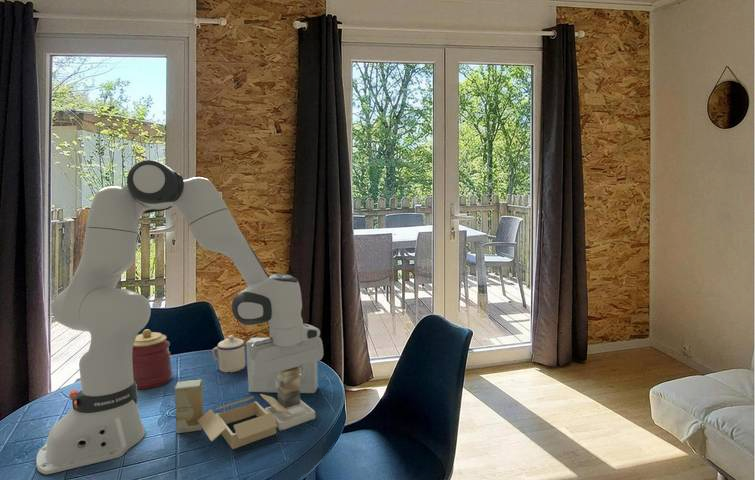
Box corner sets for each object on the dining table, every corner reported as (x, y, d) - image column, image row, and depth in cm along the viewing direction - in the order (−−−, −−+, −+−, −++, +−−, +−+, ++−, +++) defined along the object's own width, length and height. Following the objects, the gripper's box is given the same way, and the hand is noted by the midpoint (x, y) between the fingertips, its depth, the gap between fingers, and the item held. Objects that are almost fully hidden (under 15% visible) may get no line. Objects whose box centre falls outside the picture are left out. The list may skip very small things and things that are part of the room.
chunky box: (285, 408, 118) (284, 372, 117) (277, 401, 122) (277, 366, 121) (300, 403, 121) (299, 368, 120) (292, 397, 125) (292, 363, 124)
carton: (216, 462, 101) (214, 439, 101) (194, 427, 116) (193, 407, 116) (297, 431, 113) (296, 411, 113) (268, 404, 128) (267, 386, 128)
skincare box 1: (176, 434, 113) (172, 388, 112) (179, 425, 117) (175, 381, 116) (203, 430, 115) (200, 385, 114) (204, 421, 119) (202, 378, 118)
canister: (155, 391, 138) (150, 336, 136) (118, 389, 140) (113, 335, 138) (180, 374, 151) (177, 324, 149) (146, 372, 153) (142, 322, 151)
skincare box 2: (318, 386, 140) (317, 337, 138) (314, 394, 134) (312, 343, 133) (254, 384, 142) (251, 336, 140) (247, 392, 137) (245, 342, 135)
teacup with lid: (250, 363, 159) (249, 332, 158) (237, 374, 150) (235, 340, 149) (220, 361, 162) (218, 330, 160) (205, 371, 153) (203, 339, 151)
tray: (280, 430, 114) (279, 423, 114) (264, 415, 122) (264, 408, 122) (315, 418, 120) (315, 411, 120) (298, 404, 128) (298, 397, 128)
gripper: (254, 346, 110) (257, 399, 112) (325, 329, 123) (327, 376, 124) (244, 340, 115) (248, 390, 117) (313, 323, 128) (316, 369, 129)
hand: (289, 383), depth 121 cm, fingers closed on chunky box, 5 cm apart
